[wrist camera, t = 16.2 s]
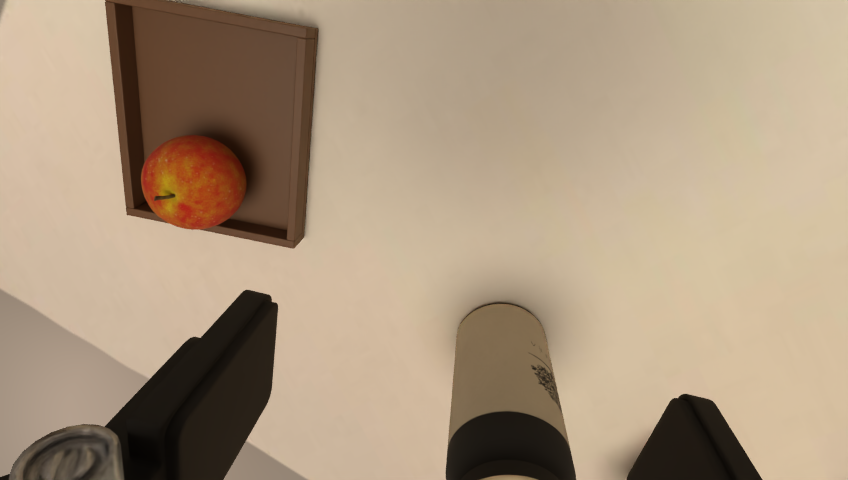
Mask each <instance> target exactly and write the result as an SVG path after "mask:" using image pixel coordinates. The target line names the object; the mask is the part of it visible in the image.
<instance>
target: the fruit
mask: <svg viewBox="0 0 848 480" xmlns="http://www.w3.org/2000/svg"><path fill="white" fill-rule="evenodd" d="M141 185H142V190H143V194H144V197H145V199H146V201H147V203H148V205H149V206H150V208H151V209H152V210H153V212H154V213H155V214H157V215H158V216H159V217H160V218H162V219H163V220H164V221H166V222H168V223H170V224H172V225H175V226H177V227H181V228H185V229H205V228H210V227H213V226H216V225H218V224H221V223H223V222H224V221H226V220H227V219H229V218H230V217H231V216H232V215H233V214H234V213H235V212H236V211H237V210H238V208H239V207H240V206H241V204H242V201H243V199H244V196H245V193H246V185H247V183H246V175H245V171H244V169H243V166H242V164H241V163H240V161H239V159H238V158H237V157H236V155H235V154H234V153H233V152H232V151H231V150H230V149H229V148H228V147H226V146H225V145H224V144H222V143H220V142H219V141H217V140H214V139H212V138H208V137H205V136H198V135H186V136H180V137H176V138H173V139H170V140H168V141H166V142H164V143H163V144H161V145H160V146H158V147H157V148H156V149H155V150H154V151H153V152H152V153H151V154H150V155H149V156H148V158H147V160H146V161H145V163H144V166H143V169H142V173H141Z"/></svg>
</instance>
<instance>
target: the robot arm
mask: <svg viewBox="0 0 848 480" xmlns="http://www.w3.org/2000/svg"><path fill="white" fill-rule="evenodd" d="M277 314H278V305H277V303H274V302H272V299H271V296H270V295H267V294H263V293H259V292H255V291H251V290H245V291H243V292H242V293H241V294H240V296H239V297H238V298H237V299H236V300H235V301H234V302H233V303H232V304H231V305H230V306H229V308H228V309H227V310H226V311H225V312H224V313H223V314H222V315H221V316H220V317H219V318H218V320H217V321H216V322H215V323H214V324H213V325H212V326H211V327H210V328H209V329H208V331H207V332H206V333H205V334H204V335H203V336H202V337H201V338H198V337H192V338H190V339H189V340H187V341H186V342H185V343H184V344H183V345H182V346H181V347H180V348H179V349H178V350H177V351H176V352H175V353H174V354H173V355H172V357H171V358H170V359H169V360H168V361H167V362H166V363H165V364H164V365H163V366H162V367H161V368H160V369H159V370H158V371H157V372H156V373H155V374H154V375H153V376H152V378H151V379H150V380H149V381H148V382H147V383H146V384H145V385H144V386H143V387H142V388H141V389H140V390H139V391H138V392H137V393H136V394H135V395H134V396H133V398H132V399H131V400H130V401H129V402H128V403H127V404H126V405H125V406H124V407H123V408H122V409H121V410H120V411H119V412H118V413H117V414H116V415H115V416H114V417H113V418H112V420H111V421H110V422H109V423H108V424H107V425H106V426H105V427H103V426H99V425H88V424H82V425H76V426H70V427H66V428H63V429H60V430H57V431H54V432H51V433H50V434H48V435H46V436H44V437H42V438H41V439H39V440H37V441H35V442H34V443H33V444H32V445H31V446H29V447H28V448H27V449H26V450H24V451H23V452H22V454H21V455H20V456H19V458H18V459H17V460H16V461H15V463H14V464H13V467H12V469H11V472H10V474H8V475H5V476H2V477H0V480H223V479H224V477H225V476H226V474H227V472H228V471H229V469H230V467H231V465H232V464H233V462H234V460H235V459H236V457H237V455H238V453H239V452H240V450H241V448H242V446H243V445H244V443H245V441H246V439H247V438H248V436H249V434H250V433H251V431H252V429H253V427H254V426H255V424H256V422H257V420H258V419H259V417H260V415H261V413H262V412H263V410H264V408H265V407H266V405H267V403H268V400H269V397H270V394H271V389H272V378H273V365H274V352H275V340H276V327H277ZM627 480H762V478H761V477H760V475H759V474H758V472H757V470H756V469H755V467H754V465H753V464H752V462H751V461H750V459H749V457H748V456H747V454H746V453H745V451H744V449H743V448H742V446H741V445H740V443H739V441H738V440H737V438H736V437H735V435H734V433H733V432H732V430H731V428H730V427H729V425H728V424H727V422H726V420H725V419H724V417H723V416H722V414H721V412H720V411H719V409H718V408H717V406H716V404H715V403H714V402H713V401H711V400H709V399H705V398H701V397H697V396H693V395H688V394H682V395H681V396H679V398H674V399H672V400H671V401H670V403H669V404H668V406H667V408H666V410H665V411H664V413H663V415H662V417H661V418H660V420H659V422H658V424H657V425H656V427H655V429H654V431H653V432H652V434H651V436H650V438H649V439H648V441H647V443H646V445H645V446H644V448H643V450H642V451H641V453H640V455H639V457H638V458H637V460H636V462H635V464H634V465H633V467H632V469H631V471H630V472H629V474H628V477H627Z"/></svg>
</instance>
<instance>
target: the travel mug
mask: <svg viewBox="0 0 848 480" xmlns="http://www.w3.org/2000/svg"><path fill="white" fill-rule="evenodd" d="M446 480H576V474H575V469H574V465H573V460H572V456H571V451H570V446H569V442H568V437H567V433H566V428H565V424H564V419H563V414H562V410H561V405H560V401H559V396H558V392H557V387H556V382H555V378H554V373H553V369H552V364H551V360H550V355H549V351H548V346H547V341H546V337H545V333H544V330H543V328H542V326H541V324H540V322H539V321H538V320H537V319H536V318H535V317H534V316H533V315H532V314H531V313H529V312H528V311H526V310H524V309H522V308H520V307H517V306H513V305H508V304H493V305H488V306H484V307H481V308H479V309H477V310H475V311H473V312H472V313H471V314H469V315H468V316H467V317H466V318H465V319H464V320H463V322H462V323H461V325H460V327H459V329H458V332H457V339H456V351H455V364H454V376H453V389H452V401H451V414H450V426H449V439H448V451H447V464H446Z"/></svg>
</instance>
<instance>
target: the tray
mask: <svg viewBox="0 0 848 480" xmlns="http://www.w3.org/2000/svg"><path fill="white" fill-rule="evenodd" d="M105 1H106V2H105V6H106V16H107V25H108V35H109V45H110V55H111V65H112V75H113V84H114V94H115V104H116V114H117V124H118V133H119V143H120V153H121V163H122V173H123V182H124V192H125V202H126V211H127V215H131V216H136V217H141V218H146V219H151V220H155V221H160V222H165V223H168V222H166V221H164V220H163V219H162V218H160V217H159V216H158V215H157V214H155V213H154V212H153V210H152V209H151V208H150V206H149V205H148V203H147V201H146V199H145V197H144V194H143V190H142V185H141V173H142V169H143V166H144V163H145V161H146V160H147V158H148V156H149V155H150V154H151V153H152V152H153V151H154V150H155V149H156V148H157V147H158V146H160V145H161V144H163V143H164V142H166V141H168V140H170V139H173V138H176V137H180V136H186V135H198V136H205V137H208V138H212V139H214V140H217V141H219V142H220V143H222V144H224V145H225V146H226V147H228V148H229V149H230V150H231V151H232V152H233V153H234V154H235V155H236V157H237V158H238V159H239V161H240V163H241V164H242V166H243V169H244V171H245V175H246V183H247V185H246V193H245V196H244V199H243V201H242V204H241V206H240V207H239V208H238V210H237V211H236V212H235V213H234V214H233V215H232V216H231V217H230V218H229V219H227V220H226V221H224V222H223V223H221V224H218V225H216V226H213V227H210V228H205V229H200V230H205V231H210V232H215V233H219V234H224V235H229V236H234V237H239V238H244V239H249V240H254V241H259V242H264V243H269V244H274V245H278V246H283V247H288V248H295V247H296V246H297V245H298V243H299V242H300V241H301V240H302V239H303V238H304V229H305V214H306V199H307V184H308V170H309V155H310V140H311V126H312V111H313V96H314V81H315V67H316V52H317V37H318V29H317V28H312V27H307V26H301V25H296V24H291V23H285V22H280V21H275V20H269V19H264V18H259V17H253V16H248V15H242V14H237V13H232V12H226V11H221V10H216V9H210V8H205V7H200V6H194V5H189V4H184V3H178V2H173V1H167V0H105Z"/></svg>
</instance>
